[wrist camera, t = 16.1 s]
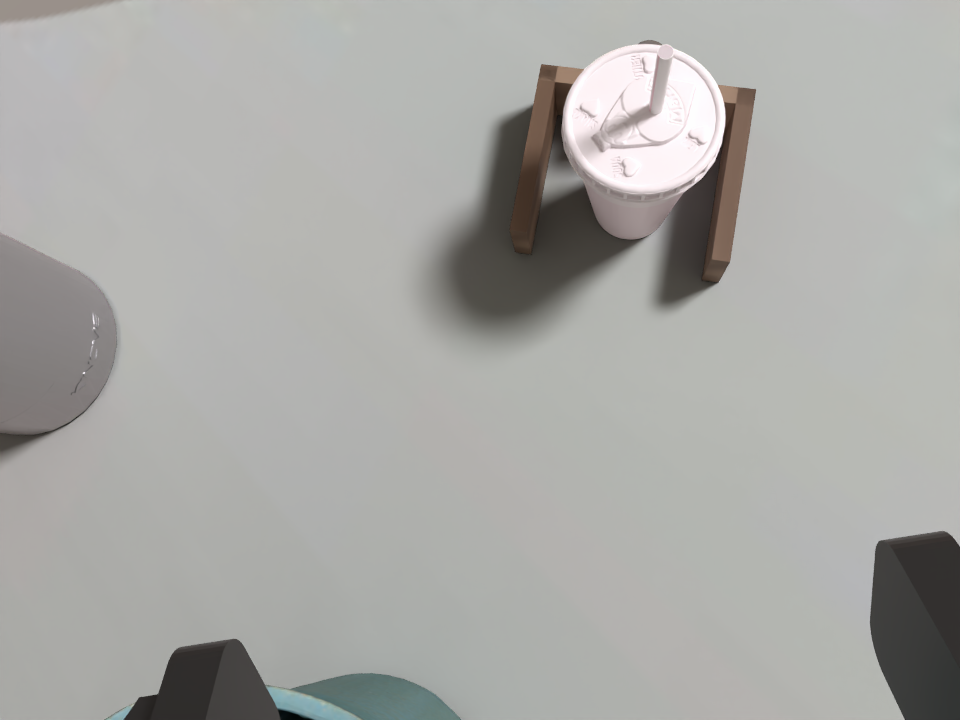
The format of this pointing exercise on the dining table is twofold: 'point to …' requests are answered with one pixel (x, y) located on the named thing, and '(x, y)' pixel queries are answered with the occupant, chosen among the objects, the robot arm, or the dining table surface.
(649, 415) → the dining table surface
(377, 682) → the flower pot
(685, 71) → the smoothie
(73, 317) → the robot arm
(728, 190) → the keeper
